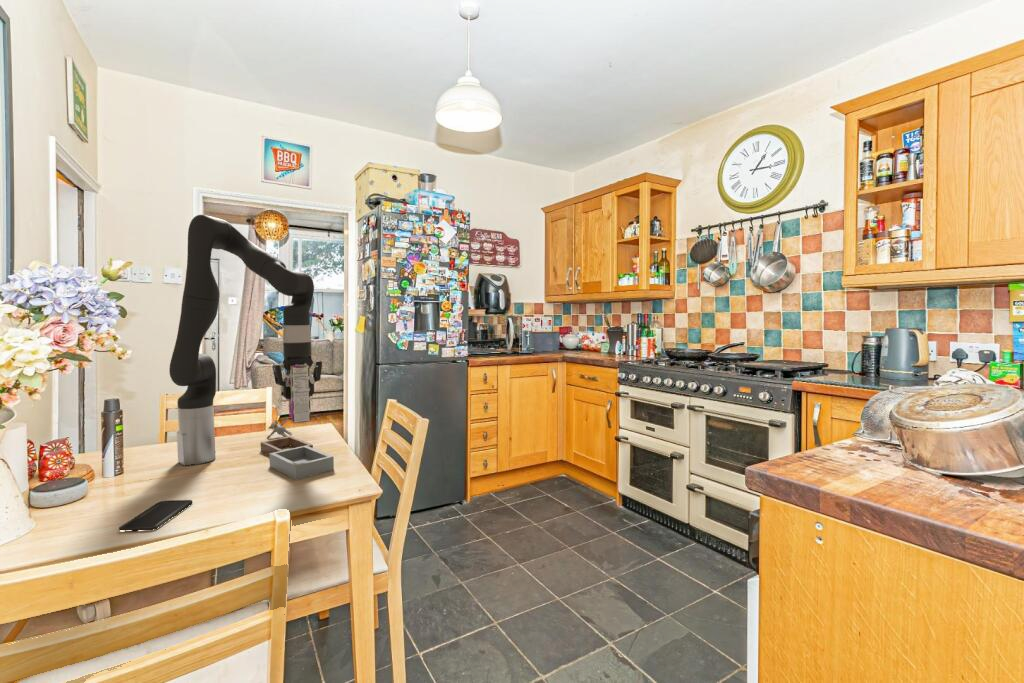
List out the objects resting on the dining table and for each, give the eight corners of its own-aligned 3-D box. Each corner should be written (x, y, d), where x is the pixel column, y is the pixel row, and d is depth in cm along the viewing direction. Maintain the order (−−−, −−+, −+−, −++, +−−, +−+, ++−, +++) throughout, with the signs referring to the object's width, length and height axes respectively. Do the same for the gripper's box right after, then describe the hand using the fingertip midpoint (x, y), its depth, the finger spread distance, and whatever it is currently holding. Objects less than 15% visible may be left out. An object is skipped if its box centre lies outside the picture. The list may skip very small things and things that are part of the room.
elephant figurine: (275, 443, 170) (258, 431, 173) (282, 451, 175) (266, 439, 178) (296, 421, 175) (280, 411, 179) (303, 430, 180) (287, 419, 183)
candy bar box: (287, 416, 146) (286, 362, 144) (305, 414, 148) (304, 361, 147) (292, 423, 136) (291, 366, 135) (311, 421, 139) (310, 365, 137)
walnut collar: (281, 461, 149) (281, 451, 149) (260, 451, 160) (260, 442, 160) (313, 453, 157) (312, 444, 157) (291, 444, 167) (290, 436, 167)
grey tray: (295, 480, 133) (295, 465, 133) (269, 466, 144) (269, 453, 144) (333, 469, 141) (333, 456, 141) (306, 457, 153) (305, 445, 152)
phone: (194, 499, 118) (155, 527, 103) (194, 504, 118) (155, 532, 103) (160, 500, 117) (115, 529, 102) (160, 505, 117) (115, 534, 102)
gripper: (314, 338, 148) (316, 392, 149) (266, 341, 137) (268, 399, 138) (327, 340, 143) (328, 395, 144) (277, 342, 132) (279, 403, 134)
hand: (299, 397), depth 141 cm, fingers closed on candy bar box, 6 cm apart
